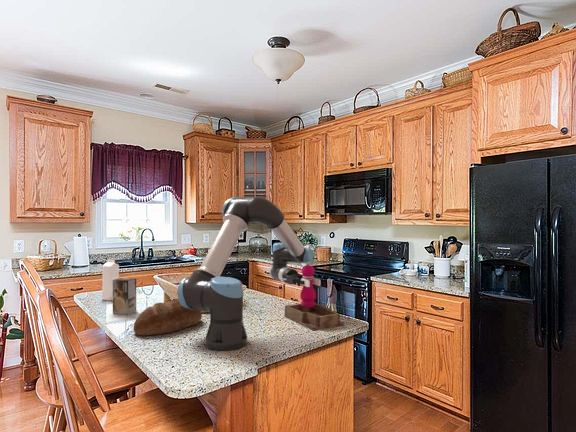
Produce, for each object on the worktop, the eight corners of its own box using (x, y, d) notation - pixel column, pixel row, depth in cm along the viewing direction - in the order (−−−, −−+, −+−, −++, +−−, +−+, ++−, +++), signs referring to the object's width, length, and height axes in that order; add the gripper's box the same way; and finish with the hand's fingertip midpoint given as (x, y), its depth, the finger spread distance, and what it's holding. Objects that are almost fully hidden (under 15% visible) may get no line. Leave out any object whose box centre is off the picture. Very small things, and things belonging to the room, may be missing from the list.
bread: (209, 323, 159) (209, 297, 159) (146, 340, 136) (146, 310, 136) (188, 317, 169) (188, 292, 169) (125, 332, 146) (126, 303, 146)
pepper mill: (314, 307, 163) (314, 263, 163) (298, 307, 165) (298, 262, 165) (316, 304, 170) (316, 261, 170) (301, 303, 172) (301, 260, 172)
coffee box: (137, 311, 178) (137, 278, 178) (128, 314, 172) (128, 280, 172) (120, 310, 180) (121, 277, 181) (111, 313, 174) (111, 279, 174)
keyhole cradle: (312, 330, 149) (312, 318, 149) (284, 316, 170) (284, 305, 170) (344, 325, 157) (344, 313, 157) (313, 312, 178) (313, 302, 178)
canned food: (180, 306, 190) (180, 282, 190) (164, 307, 187) (164, 283, 187) (178, 302, 197) (178, 280, 197) (163, 303, 194) (163, 281, 194)
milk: (111, 297, 209) (111, 258, 209) (118, 298, 206) (119, 259, 207) (101, 299, 203) (102, 259, 204) (109, 300, 201) (110, 260, 201)
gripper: (304, 281, 188) (331, 289, 167) (272, 285, 179) (297, 293, 158) (304, 267, 188) (331, 273, 167) (272, 269, 179) (297, 276, 158)
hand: (314, 283), depth 163 cm, fingers closed on pepper mill, 5 cm apart
